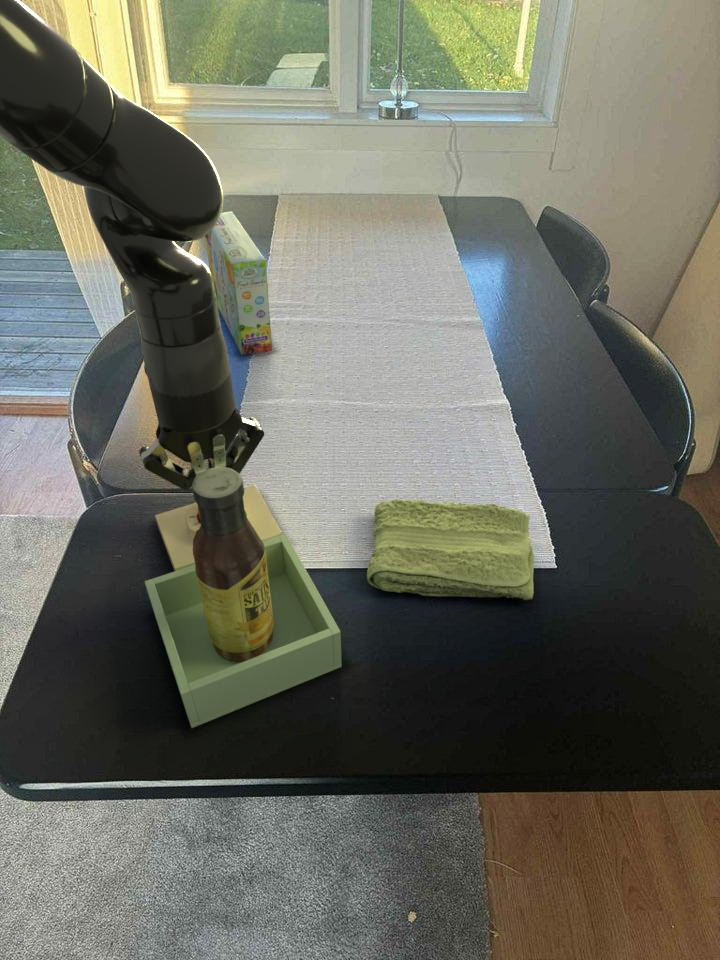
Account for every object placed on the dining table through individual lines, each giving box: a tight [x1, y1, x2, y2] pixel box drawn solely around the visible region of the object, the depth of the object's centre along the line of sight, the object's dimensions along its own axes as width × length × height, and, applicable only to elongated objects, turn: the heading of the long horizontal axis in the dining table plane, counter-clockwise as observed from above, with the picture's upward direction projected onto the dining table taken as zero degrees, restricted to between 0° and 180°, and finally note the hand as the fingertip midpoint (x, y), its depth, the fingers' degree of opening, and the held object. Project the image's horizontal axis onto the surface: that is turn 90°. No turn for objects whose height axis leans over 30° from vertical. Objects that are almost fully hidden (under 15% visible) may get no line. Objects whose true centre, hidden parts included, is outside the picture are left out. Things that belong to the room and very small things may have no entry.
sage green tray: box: [144, 533, 343, 729], centre depth 67 cm, size 15×14×6 cm
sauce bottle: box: [191, 467, 274, 662], centre depth 62 cm, size 7×6×20 cm
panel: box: [154, 484, 283, 572], centre depth 78 cm, size 12×9×4 cm
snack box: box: [204, 210, 273, 356], centre depth 112 cm, size 21×6×15 cm, turn 22°
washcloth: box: [366, 499, 535, 601], centre depth 76 cm, size 13×18×3 cm
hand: (215, 505), depth 76 cm, fingers closed
